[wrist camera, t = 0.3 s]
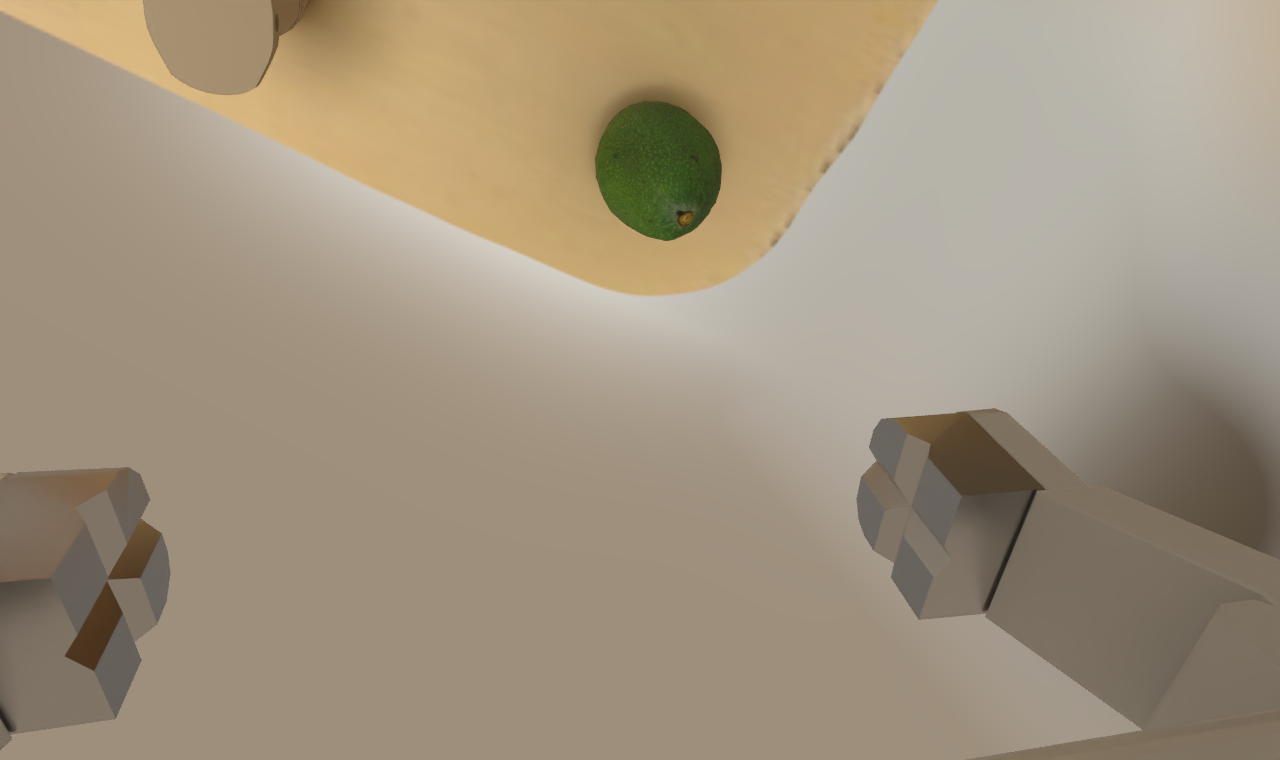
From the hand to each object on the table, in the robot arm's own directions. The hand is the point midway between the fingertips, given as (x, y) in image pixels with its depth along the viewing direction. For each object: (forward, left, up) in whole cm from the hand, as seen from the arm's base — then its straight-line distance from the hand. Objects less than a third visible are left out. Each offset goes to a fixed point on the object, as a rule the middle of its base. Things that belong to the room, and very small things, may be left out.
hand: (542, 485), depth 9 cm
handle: (-2, -11, -46) cm, 47 cm away
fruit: (+7, +11, -46) cm, 48 cm away
